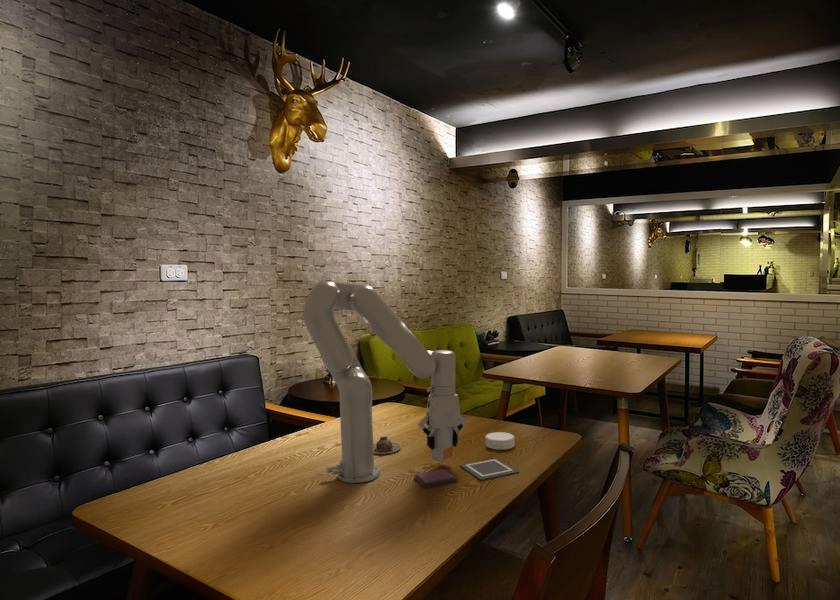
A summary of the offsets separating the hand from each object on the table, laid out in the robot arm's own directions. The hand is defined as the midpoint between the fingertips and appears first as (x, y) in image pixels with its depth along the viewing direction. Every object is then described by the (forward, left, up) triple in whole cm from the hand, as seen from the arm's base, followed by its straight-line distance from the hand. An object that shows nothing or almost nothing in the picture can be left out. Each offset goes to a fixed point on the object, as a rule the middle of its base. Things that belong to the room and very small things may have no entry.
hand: (442, 446), depth 166 cm
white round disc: (+26, +9, -7) cm, 28 cm away
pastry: (-11, +24, -7) cm, 27 cm away
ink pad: (-7, -9, -6) cm, 13 cm away
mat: (+11, -9, -6) cm, 16 cm away
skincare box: (0, 0, -4) cm, 4 cm away
